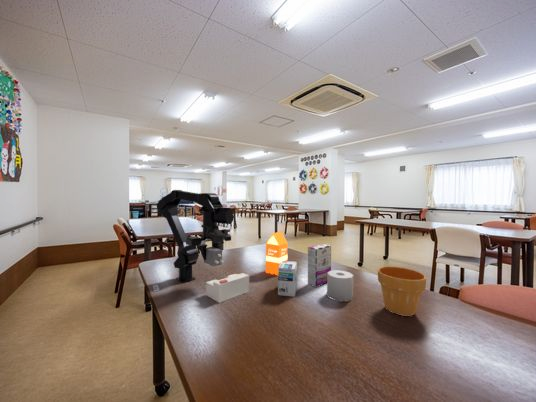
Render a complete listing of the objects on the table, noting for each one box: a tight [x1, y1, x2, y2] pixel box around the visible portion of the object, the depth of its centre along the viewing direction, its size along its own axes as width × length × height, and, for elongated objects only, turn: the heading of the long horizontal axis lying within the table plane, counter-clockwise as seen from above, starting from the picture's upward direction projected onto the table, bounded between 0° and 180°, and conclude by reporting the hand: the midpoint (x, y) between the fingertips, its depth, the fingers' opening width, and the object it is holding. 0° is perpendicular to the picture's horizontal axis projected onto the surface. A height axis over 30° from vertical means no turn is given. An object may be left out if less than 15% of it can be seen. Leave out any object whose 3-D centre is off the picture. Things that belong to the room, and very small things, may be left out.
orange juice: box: [265, 231, 289, 276], centre depth 118 cm, size 8×9×20 cm
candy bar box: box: [307, 243, 332, 288], centre depth 104 cm, size 11×5×16 cm, turn 131°
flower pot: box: [377, 266, 427, 315], centre depth 79 cm, size 14×14×13 cm
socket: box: [205, 272, 250, 304], centre depth 91 cm, size 9×14×7 cm, turn 135°
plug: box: [203, 246, 224, 267], centre depth 97 cm, size 10×4×6 cm, turn 44°
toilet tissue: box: [326, 269, 354, 302], centre depth 92 cm, size 9×13×9 cm
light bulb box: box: [277, 260, 298, 298], centre depth 95 cm, size 11×7×11 cm, turn 168°
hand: (209, 259), depth 100 cm, fingers closed on plug, 4 cm apart
